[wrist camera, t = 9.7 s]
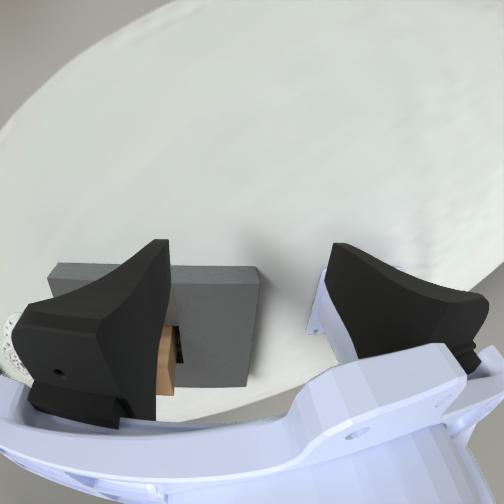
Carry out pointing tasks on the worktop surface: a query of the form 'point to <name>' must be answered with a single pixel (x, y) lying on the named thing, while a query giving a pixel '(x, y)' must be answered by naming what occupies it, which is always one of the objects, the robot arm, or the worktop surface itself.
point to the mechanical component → (8, 346)
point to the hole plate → (195, 317)
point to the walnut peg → (167, 361)
